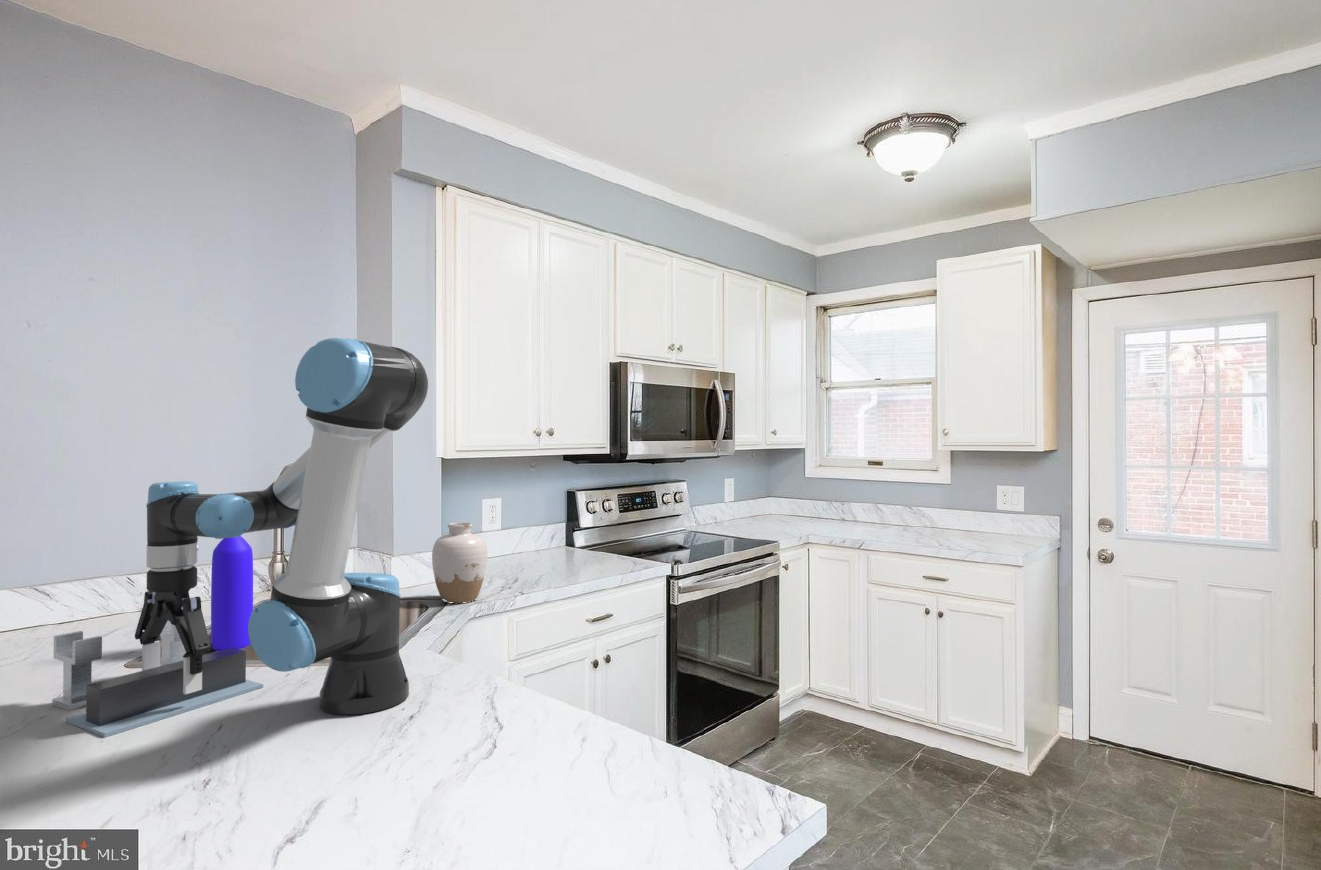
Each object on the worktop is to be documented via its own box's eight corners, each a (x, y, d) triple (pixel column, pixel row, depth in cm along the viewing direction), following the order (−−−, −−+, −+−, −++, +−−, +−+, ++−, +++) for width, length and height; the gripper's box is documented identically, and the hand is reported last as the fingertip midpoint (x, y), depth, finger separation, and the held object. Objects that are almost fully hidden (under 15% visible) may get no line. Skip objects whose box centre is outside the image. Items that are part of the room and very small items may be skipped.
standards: (197, 676, 141) (198, 616, 141) (71, 711, 122) (71, 642, 122) (175, 670, 144) (176, 611, 145) (49, 703, 126) (50, 636, 126)
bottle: (233, 652, 157) (234, 518, 157) (201, 650, 158) (202, 517, 159) (261, 642, 165) (262, 514, 165) (230, 640, 166) (232, 513, 167)
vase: (457, 609, 198) (458, 528, 198) (420, 602, 206) (420, 524, 206) (498, 598, 211) (498, 522, 211) (461, 592, 220) (461, 519, 220)
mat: (263, 687, 135) (263, 684, 135) (104, 737, 112) (104, 733, 112) (223, 676, 141) (223, 673, 141) (65, 721, 118) (65, 718, 118)
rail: (231, 678, 138) (232, 647, 138) (245, 682, 136) (245, 651, 136) (86, 721, 117) (86, 684, 117) (99, 726, 115) (99, 689, 115)
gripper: (234, 570, 124) (233, 690, 124) (158, 558, 136) (157, 668, 135) (189, 577, 117) (187, 704, 117) (113, 564, 129) (111, 680, 129)
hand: (171, 685), depth 126 cm, fingers open, 13 cm apart
